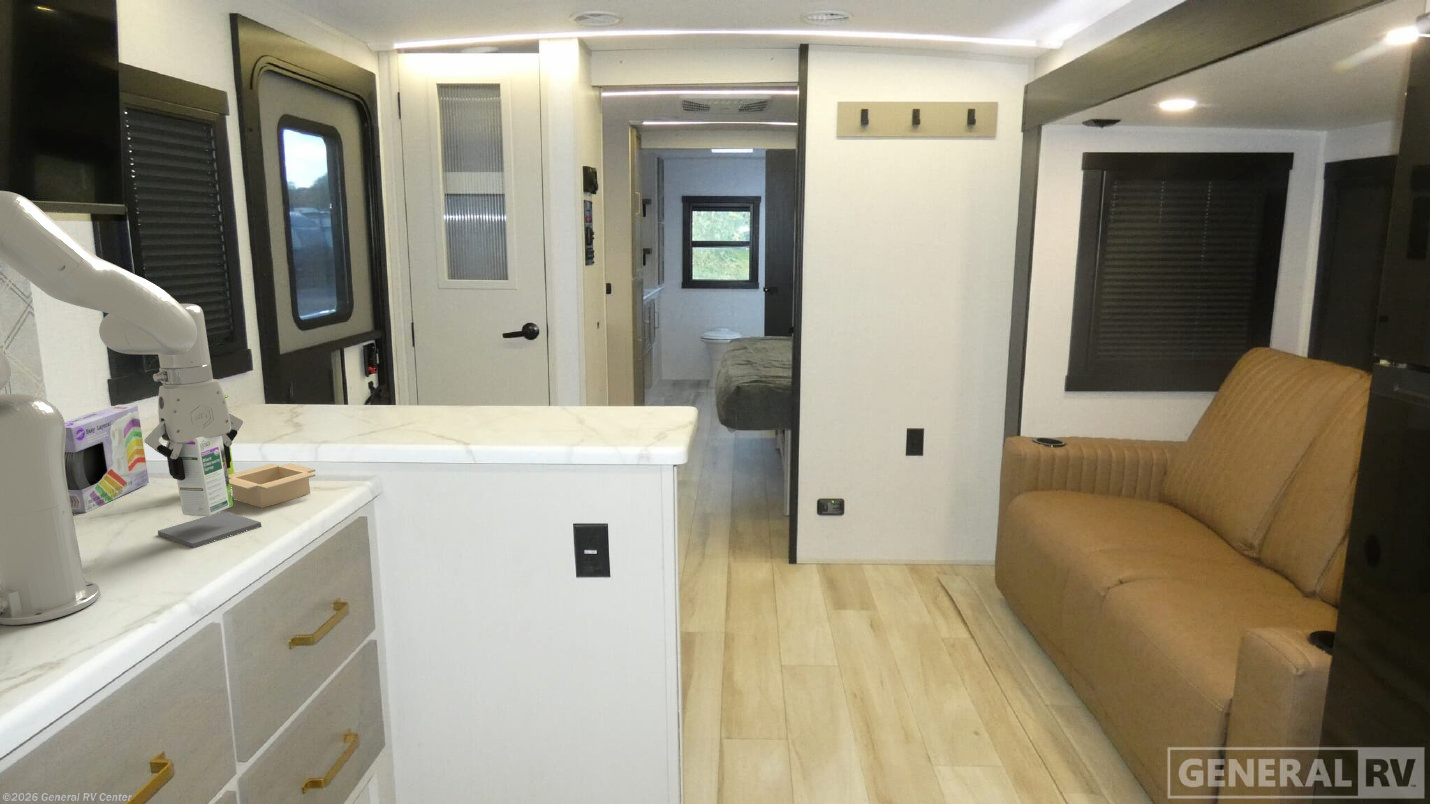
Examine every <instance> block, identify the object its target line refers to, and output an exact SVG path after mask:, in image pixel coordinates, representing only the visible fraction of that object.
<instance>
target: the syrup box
mask: <svg viewBox="0 0 1430 804" xmlns="http://www.w3.org/2000/svg"><path fill="white" fill-rule="evenodd" d="M179 457H180V458H182V459H183V465H184V472H185V479H184V480H177V479H176V481H177V487H178V493H179V499H180V504H181V509H182V510H181V512H182V514H183V515H184V516H191V517H206V516H208V517H210V516H212V515H213V514H217V513H220V512H223V511H225V510H227V509H229V508H231V507H233V505H234V502H233V495H232V489H230V484H229V477H228V471H227V465H226V459H225V453H224V446H223V440H222V436H218V437H213V438H205V437H197V438H194V440H193V442H191V443H185V444H183V445H182V448H181V451H180V453H179Z"/></svg>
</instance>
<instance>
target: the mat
mask: <svg viewBox="0 0 1430 804" xmlns="http://www.w3.org/2000/svg"><path fill="white" fill-rule="evenodd" d="M260 526H261V527H262V523H261V522H260V521H258V520H256V519H255V520H254V519H252V518H248V517H245V516H243V515H239V514H235V513H233V512H229V511H226V510H223V511H220V512H218V513H215V514H213V515H212V516H210V517H208V516H202V517H201V518H197V519H194V520H193V519H192V520H190V521H186V522H183V523H180V524H176V525H172V526H170V527H165V528H162V529H159V530H157V535H158V536H160V535H161V536H160V537H163V538H165V537H166V538H165V539H168V540H171V541H173V540H174V541H173V542H176V543H179V544H182V545H185V546H187V547H189V548H192V549H194V547H195V548H197V547H200V545H201V546H203V545H202V544H204V545H207V544H210V543H209V542H211V543H213V542H212V541H214V540H217V541H219V539H220V540H222V539H221V538H223V537H226V538H228V537H227V536H230V535H233V536H236V535H238V534H237V533H239V534H242V533H245V532H247V531H246V530H248V531H251V529H252V530H254V528H255V529H258V528H260ZM257 527H258V528H257ZM244 531H245V532H244ZM241 532H242V533H241ZM235 534H236V535H235ZM230 537H231V536H230ZM223 539H224V538H223ZM214 542H215V541H214ZM206 543H207V544H206Z"/></svg>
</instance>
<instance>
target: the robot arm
mask: <svg viewBox="0 0 1430 804" xmlns="http://www.w3.org/2000/svg"><path fill="white" fill-rule="evenodd" d="M0 260H1V261H2V262H3V263H5V264H6V265H7V266H9V267H10V268H11V269H13V270H14V271H16V272H17V273H18V274H19V275H21V276H23V277H24V278H25V279H26V280H28V281H29V282H31V284H33V285H34V286H35V287H37V288H38V289H40V290H41V291H42V292H44V294H46V295H48V296H50V297H51V298H53V299H55V300H58V301H61V302H63V303H67V304H70V305H73V306H77V307H81V308H85V309H90V310H94V311H97V312H103V313H106V315H105V316H104V318H102V320H101V322H100V323H99V328H98V334H99V337H100V340H101V341H102V343H103V344H104V345H105V346H106V347H107V348H108V349H110V350H112V351H114V352H118V353H121V354H125V355H158V362H159V369H158V370H159V371H158V372H157V373H154V374H153V375H152V378H153V381H154V382H161V383H162V385H160V386H159V388H158V399H157V401H158V403H157V409H158V410H157V412H158V425H157V426H156V427H155V428H154V429H153V430H152V431H151V432H150V433H149V434H148V435H147V436H146V437H145V438H144V439H143V440H144V441H143V442H144V443H145V444H146V445H148V447H150V448H152V449H153V450H154V451H155V452H156V453H159V454H161V455H162V456H163V457H165V458H166V459H167V460H166V461H167V467H168V472H169V475H170V476H171V477H172V478H173V479H175V480H176V481H177V480H184V479H185V472H184V465H183V459H182V458H180V457H179V453H180V451H181V448H182V445H183V444H185V443H191V442H193V440H194V438H197V437H205V438H213V437H218V436H222V440H223V446H224V453H225V459H226V465H227V469H228V468H230V467H231V466H230V462H231V455H230V448H229V446H230V447H231V446H232V444H233V441H234V439H235V438H236V437H237V436H238V432H239V431H240V429H241V427H242V426H243V424H244V421H243V420H242V419H241V418H238V417H237V416H235V415H233V414H231V413H230V412H229V409H228V404H227V400H226V398H225V397H224V395H225V394H224V391H223V388H222V385H221V383H220V381H219V379H216V378H214V377H213V370H212V363H211V357H210V356H211V355H210V350H209V343H208V337H207V336H208V335H207V328H206V321H205V314H204V311H203V309H202V307H201V306H199V305H197V304H194V303H180V302H178V301H177V300H176V299H175V298H174V297H173V296H171V294H169V293H168V292H167V291H166V290H164V289H162V288H161V287H160V286H157V284H154V283H153V282H151V281H149V280H147V279H145V278H143V277H141V276H138V275H137V274H135V273H133V272H131V271H128V270H127V269H124V268H122V267H120V266H118V265H117V264H113V263H112V262H109V261H107V260H104V259H102V258H101V257H98V256H97V255H96V254H94V253H93V252H91V250H89V249H88V248H87V247H85V246H84V245H83V244H82V243H81V242H80V241H79V240H77V239H76V238H75V237H74V236H73V235H72V234H71V233H70V232H68V231H67V230H66V229H64V228H63V227H62V226H61V225H60V224H59V223H57V222H56V221H55V220H54V219H53V218H51V216H49V215H48V214H47V213H45V212H44V211H43V210H42V209H41V207H39V206H37V205H36V203H35V204H34V202H32V201H31V200H29V199H28V198H27V197H25V196H23V195H21V194H18V193H15V192H11V191H5V190H0ZM11 376H12V367H11V364H10V361H9V359H8V357H7V355H6V354H5V352H4V351H3V349H2V347H1V346H0V392H1V391H2V390H4V388H6V386H8V384H9V382H10V379H11ZM65 422H66V421H65V419H64V417H63V414H62V413H61V410H59V409H58V408H57V407H56V406H55V405H54V404H52V403H51V402H49V401H48V400H45V399H43V398H42V397H37V396H33V395H29V394H21V393H19V394H18V393H0V624H1V625H8V626H9V625H10V626H19V625H20V626H21V625H29V624H31V625H32V624H37V623H42V622H47V621H51V620H54V619H55V620H56V619H59V618H62V617H65V616H69V615H70V614H73V613H76V612H79V611H80V610H82V609H85V608H86V607H89V606H91V605H92V604H93V603H94V602H96V601H97V600H98V599H99V597H100V596H101V589H100V585H99V584H97V583H95V582H92V581H87V580H86V579H85V575H84V570H83V563H82V559H81V553H80V548H79V542H78V536H77V532H76V525H75V521H74V520H75V519H74V515H73V514H74V513H72V508H71V503H70V498H69V492H68V486H67V480H66V473H65V459H64V456H65V439H66V427H65ZM161 438H162V440H164V441H166V444H165V445H164V444H162V443H161V442H160V439H161Z"/></svg>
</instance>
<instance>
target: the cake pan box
mask: <svg viewBox="0 0 1430 804" xmlns="http://www.w3.org/2000/svg"><path fill="white" fill-rule="evenodd" d="M64 422H65V427H66V439H65V456H64V459H65V473H66V480H67V486H68V492H69V498H70V503H71V508H72V514H75V513H76V514H78V513H79V514H82V513H83V514H86V513H88V512H91V511H93V510H95V509H97V508H99V507H102V506H103V505H106V504H108V503H110V502H112V501H114V500H117V499H118V498H120V497H122V496H125V495H126V494H129V493H130V492H133V491H134V490H137V489H139V488H141V487H143V486H145V485H147V484H149V483H150V480H149V475H148V474H149V473H148V468H147V458H146V453H145V447H144V441H143V440H144V439H143V433H142V426H141V419H140V412H139V407H138V405H134V404H115V405H114V406H111V407H108V408H104V409H102V410H98V411H93V412H90V413H87V414H83V415H80V416H78V417H75V418H73V419H70V420H67V421H64Z"/></svg>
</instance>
